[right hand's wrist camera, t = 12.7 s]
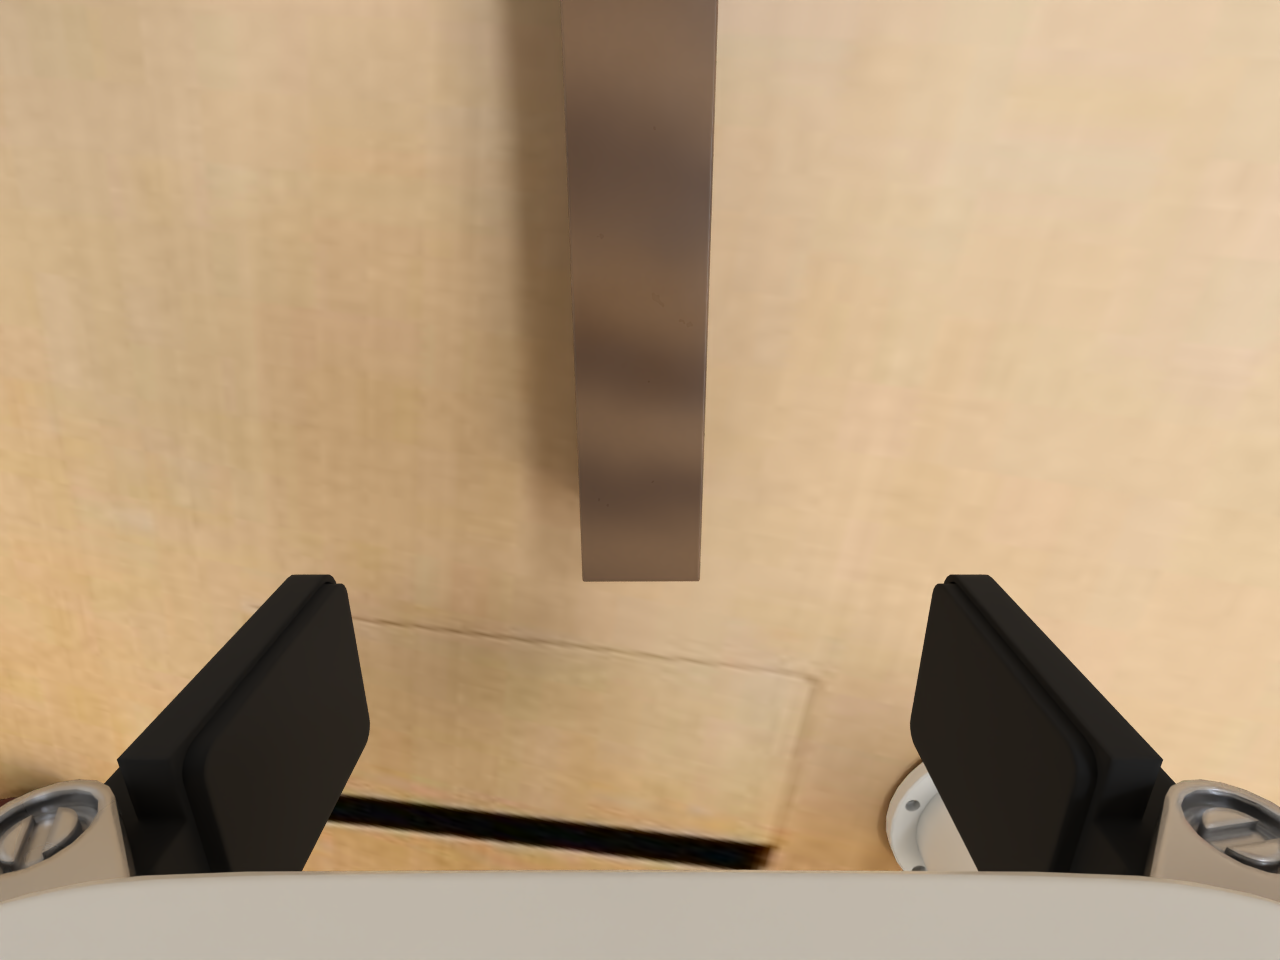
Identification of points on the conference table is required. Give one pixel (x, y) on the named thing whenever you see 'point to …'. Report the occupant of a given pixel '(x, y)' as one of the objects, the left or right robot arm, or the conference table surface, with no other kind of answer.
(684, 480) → the bar
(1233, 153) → the conference table surface
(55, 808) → the right robot arm
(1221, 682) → the conference table surface
